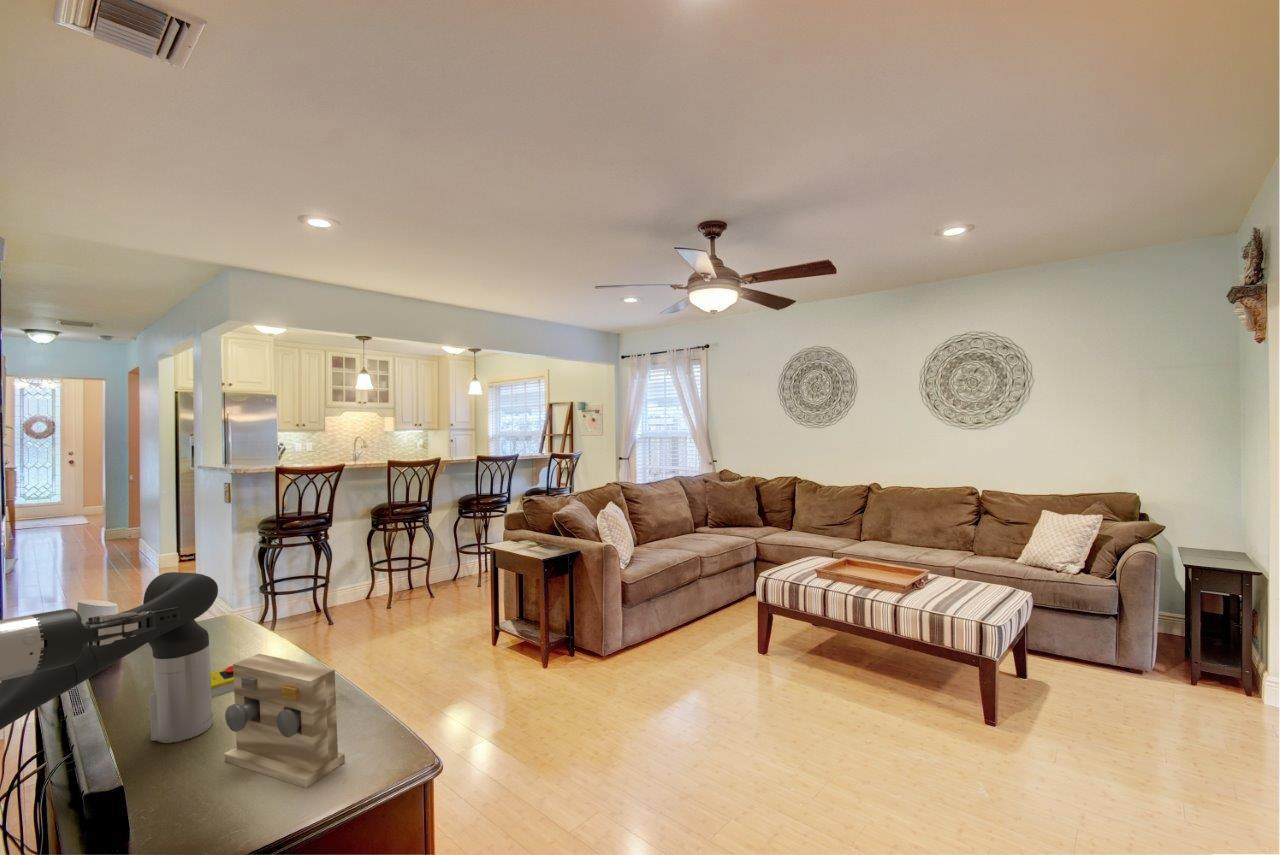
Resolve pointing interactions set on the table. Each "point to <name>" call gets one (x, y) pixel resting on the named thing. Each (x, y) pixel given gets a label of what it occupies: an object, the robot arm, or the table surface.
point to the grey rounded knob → (289, 722)
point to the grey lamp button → (241, 714)
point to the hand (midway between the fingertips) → (180, 613)
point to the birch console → (277, 691)
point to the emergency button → (222, 681)
